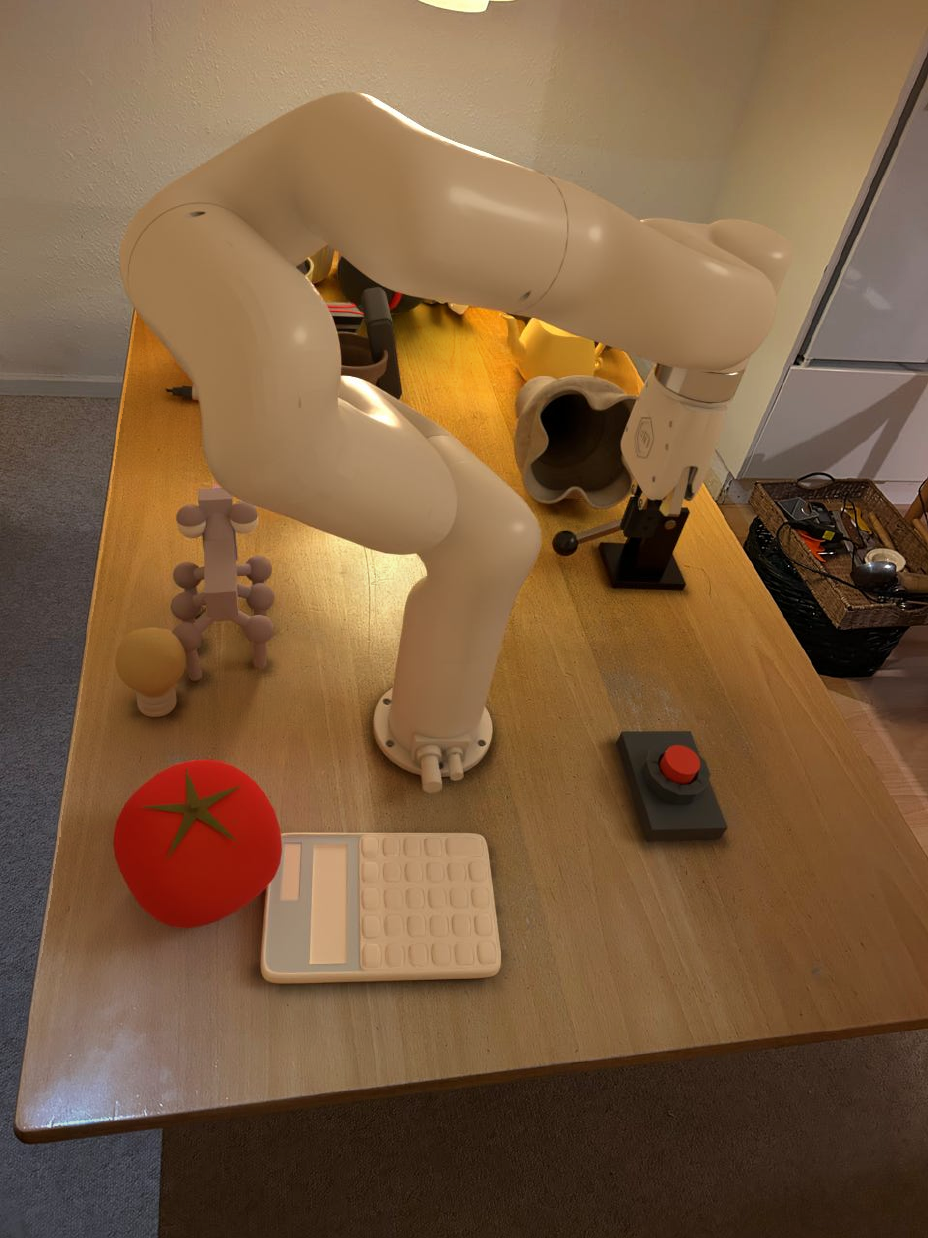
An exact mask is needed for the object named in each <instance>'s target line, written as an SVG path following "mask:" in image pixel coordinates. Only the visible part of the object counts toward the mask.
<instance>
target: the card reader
mask: <svg viewBox="0 0 928 1238" xmlns="http://www.w3.org/2000/svg"><path fill="white" fill-rule="evenodd" d="M361 301H362V306H363V313H364V318H365V319H364V325H365V329H366V335H367V337H368V338H369V344H370V350H371V356H372V361H373V362H374V364H376V363H378V362H379V361H380V359H381V356H382V353H383V350H386V351H387V353H388V360H387V366H386V370H385V372H384V374H383V375H382V376H381V377H379V378H378V380H377V382H376V385H375V386H376V387H378V388H380V389H381V390H383V391H385V392H386V393H388V394H389V395H391V396H393V397H394V398H396V399H398V400H399V401H400V399H401V398H402V395H403V388H402V381H401V380H402V379H401V374H400V373H401V372H400V367H399V365H400V364H399V360H398V358H399V357H398V352H397V345H396V344H397V343H396V337H395V330H394V323H393V318H392V314H390V310H389V305H388V301H387V296H386V293H385V291H384V290H382V289H381V288H379V287H376V288H370V289H365V290H364V291H363V294H362V296H361Z"/></svg>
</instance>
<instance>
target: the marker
mask: <svg viewBox="0 0 928 1238" xmlns="http://www.w3.org/2000/svg"><path fill="white" fill-rule="evenodd" d="M164 390H165V391H166V393H169V394H171V395H172V396H174V397H179V398H181V399H183V400H193V401H199V399H198V395H197V392H196V389H195V387H194V385H181V386H172V388H167V387H165V388H164Z"/></svg>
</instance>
